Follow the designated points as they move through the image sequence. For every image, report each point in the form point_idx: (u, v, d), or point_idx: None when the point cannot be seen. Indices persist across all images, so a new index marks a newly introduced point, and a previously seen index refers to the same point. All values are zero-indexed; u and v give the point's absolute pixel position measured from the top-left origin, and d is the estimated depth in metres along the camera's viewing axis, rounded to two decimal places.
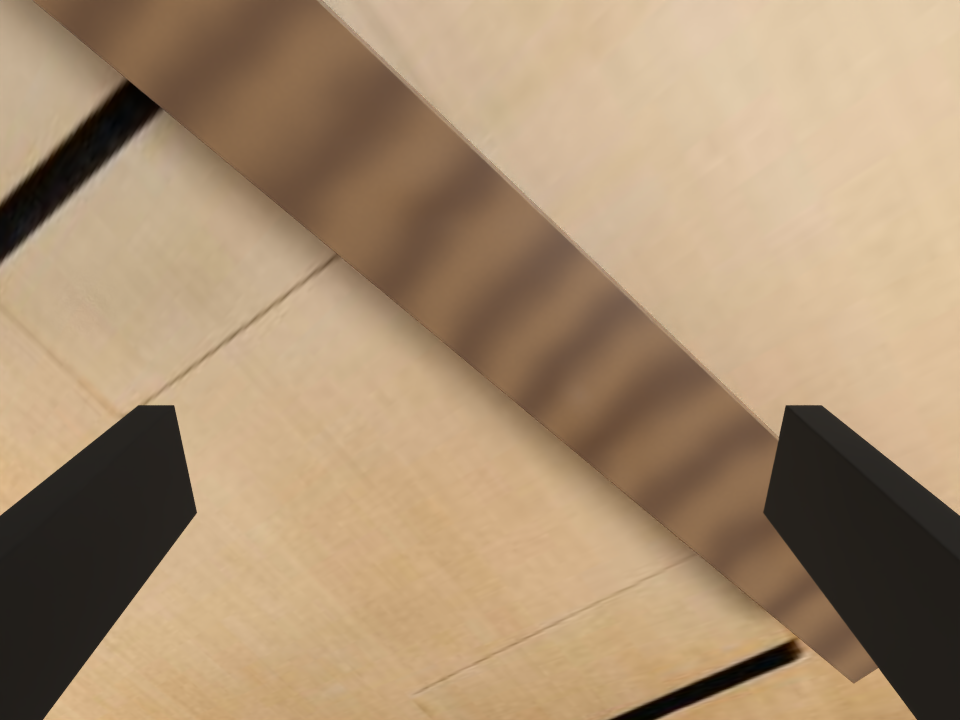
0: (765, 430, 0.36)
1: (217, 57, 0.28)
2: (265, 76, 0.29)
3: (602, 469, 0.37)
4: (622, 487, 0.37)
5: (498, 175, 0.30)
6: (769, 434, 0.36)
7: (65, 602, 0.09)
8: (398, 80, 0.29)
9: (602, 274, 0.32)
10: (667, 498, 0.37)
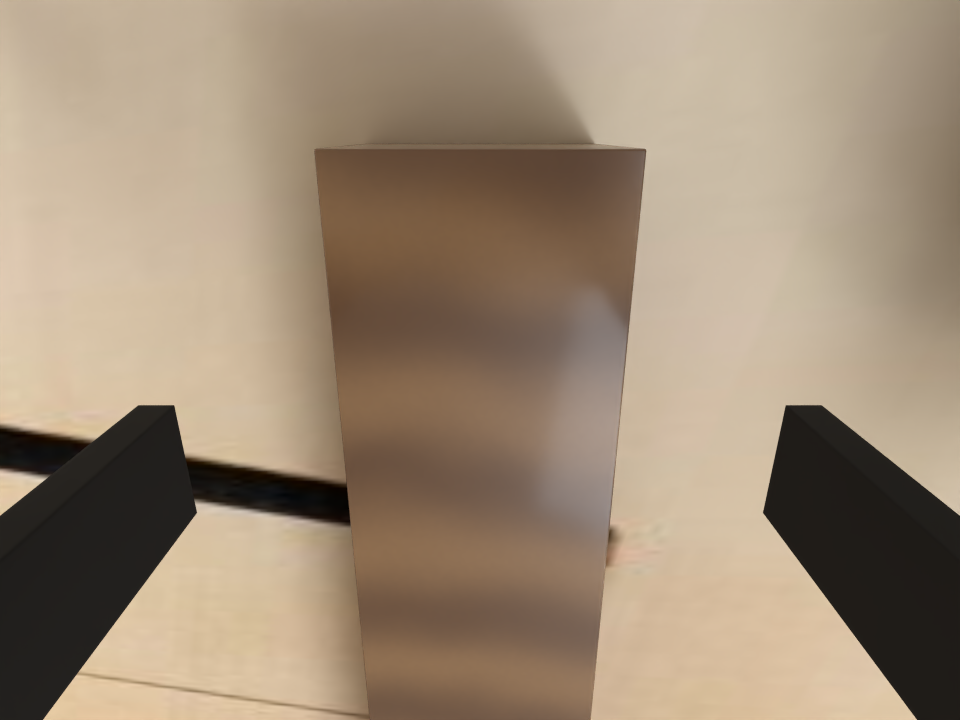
0: None
1: (463, 717, 0.24)
2: None
3: None
4: None
5: None
6: None
7: (65, 603, 0.09)
8: None
9: None
10: None
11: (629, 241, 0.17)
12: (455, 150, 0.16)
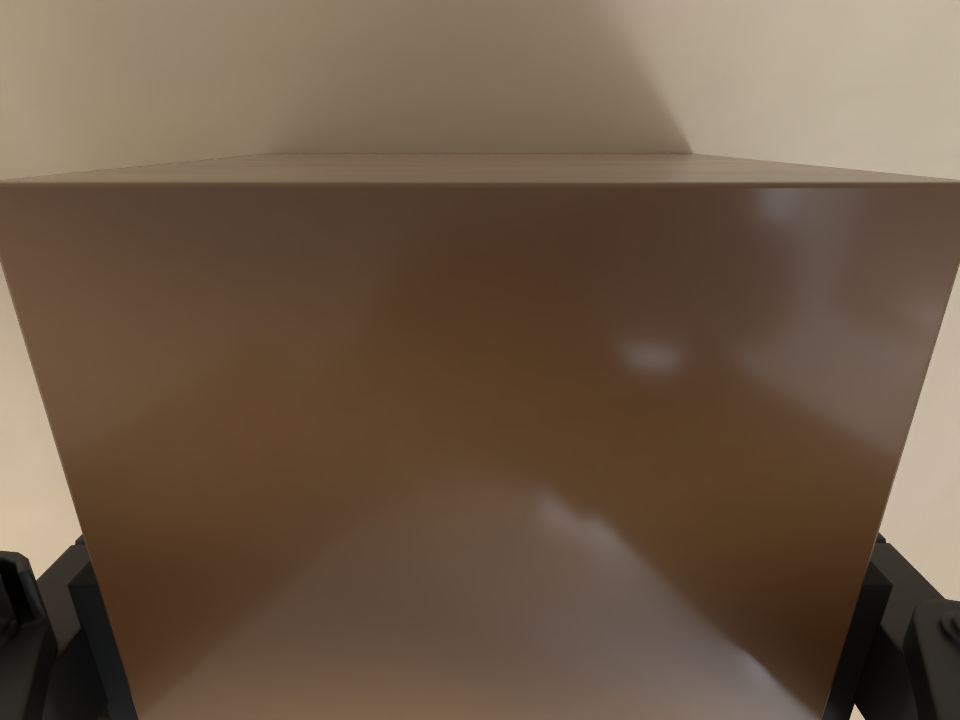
0: None
1: None
2: None
3: None
4: None
5: None
6: None
7: None
8: None
9: None
10: None
11: (888, 431, 0.06)
12: (405, 186, 0.05)
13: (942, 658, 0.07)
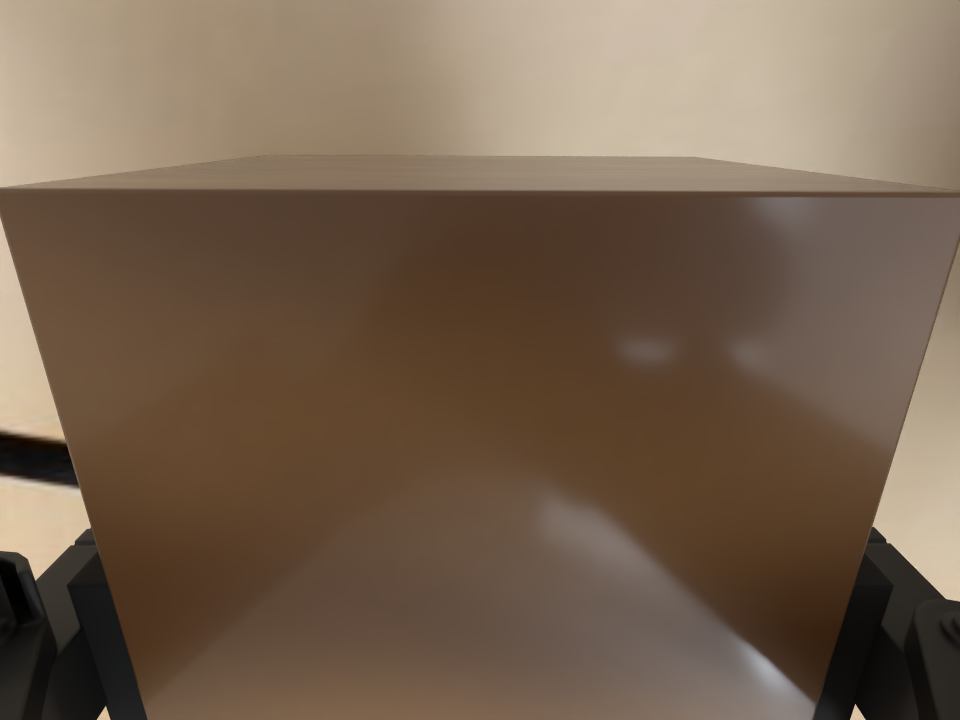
0: None
1: None
2: None
3: None
4: None
5: None
6: None
7: None
8: None
9: None
10: None
11: (881, 433, 0.06)
12: (411, 194, 0.05)
13: (942, 658, 0.07)
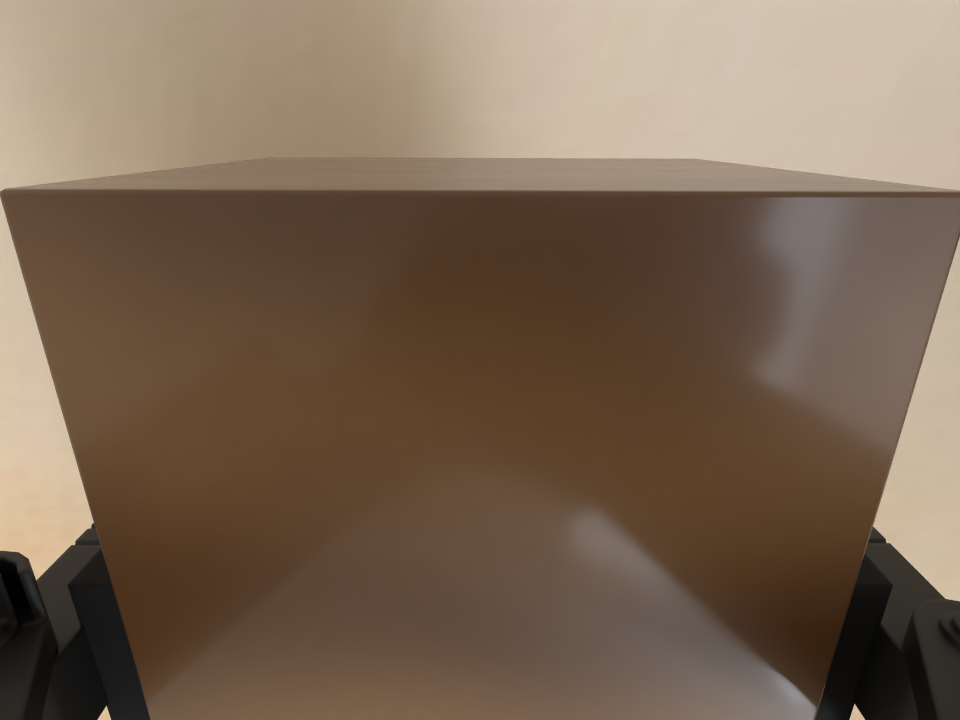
0: None
1: None
2: None
3: None
4: None
5: None
6: None
7: None
8: None
9: None
10: None
11: (880, 432, 0.06)
12: (412, 195, 0.05)
13: (942, 658, 0.07)
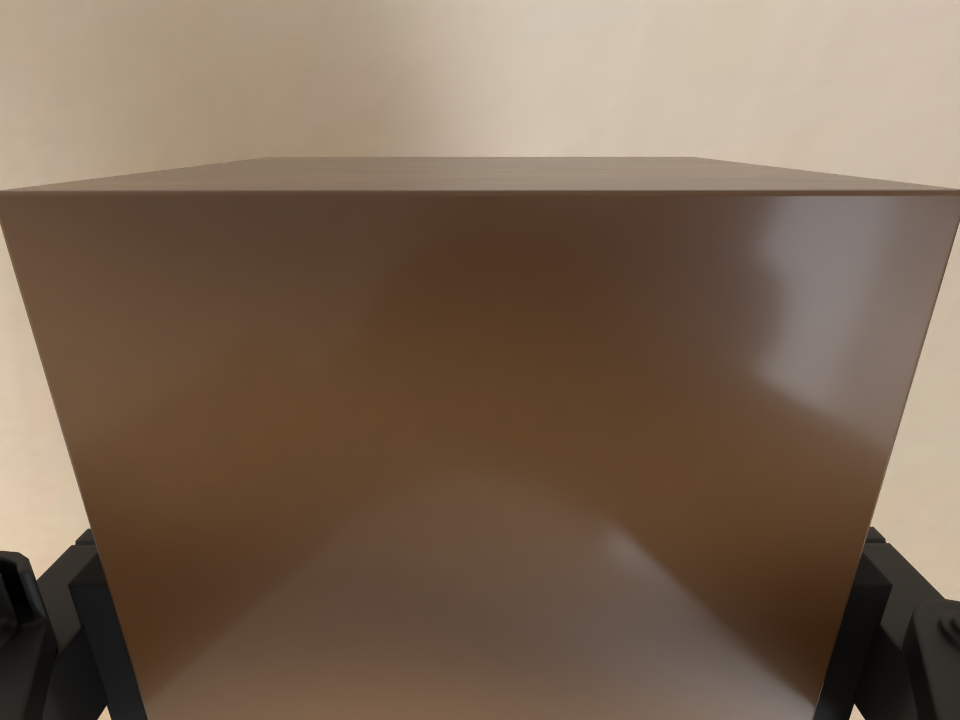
0: None
1: None
2: None
3: None
4: None
5: None
6: None
7: None
8: None
9: None
10: None
11: (878, 432, 0.06)
12: (406, 195, 0.05)
13: (942, 658, 0.07)
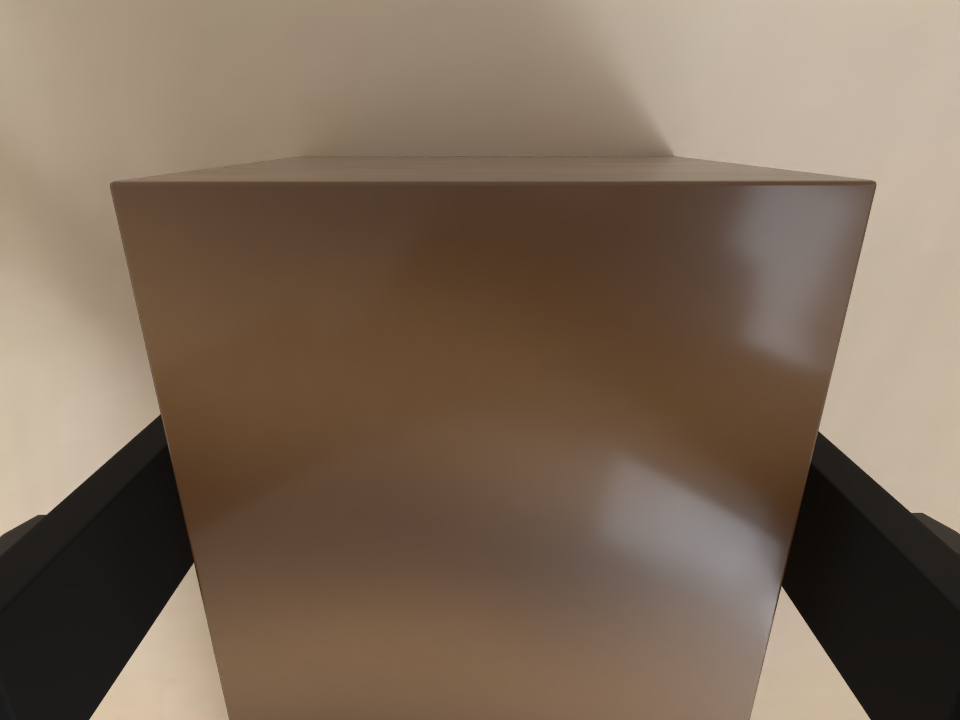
0: None
1: None
2: None
3: None
4: None
5: None
6: None
7: (128, 578, 0.10)
8: None
9: None
10: None
11: (814, 377, 0.08)
12: (435, 184, 0.07)
13: None
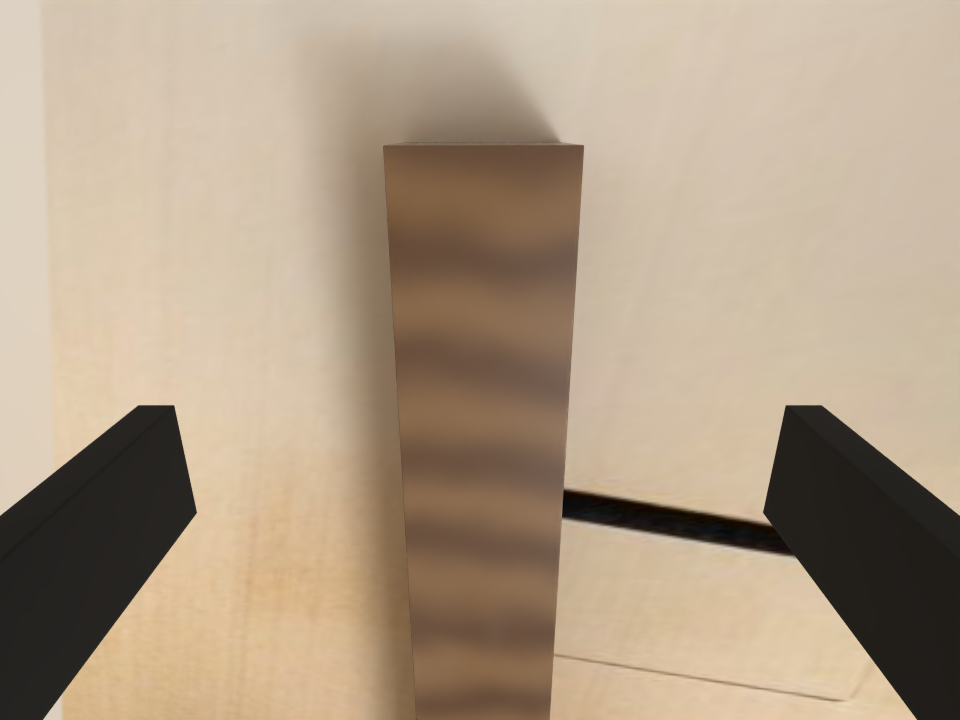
0: None
1: (471, 542, 0.34)
2: (486, 571, 0.35)
3: None
4: None
5: (549, 711, 0.39)
6: None
7: (66, 602, 0.09)
8: (553, 635, 0.36)
9: None
10: None
11: (575, 202, 0.27)
12: (468, 146, 0.26)
13: None
